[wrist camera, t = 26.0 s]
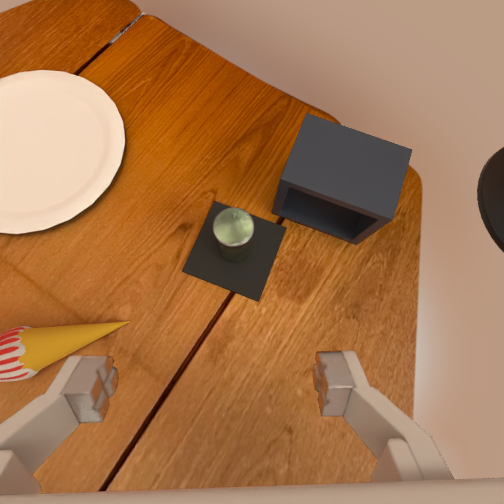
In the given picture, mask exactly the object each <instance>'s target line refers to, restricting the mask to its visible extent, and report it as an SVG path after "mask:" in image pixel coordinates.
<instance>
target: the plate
mask: <svg viewBox="0 0 504 504" xmlns="http://www.w3.org/2000/svg"><path fill="white" fill-rule="evenodd" d="M124 148H125V132H124V123H123V121H122V118H121V116H120V114H119V111H118V109H117V107H116V104H115V103H114V102H113V101H112V100H111V99H110V98H109V96H108V95H107V94H106V93H105V92H104V91H103V90H102V89H101V88H99V87H98V86H96V85H95V84H93V83H91V82H90V81H88V80H87V79H85V78H82V77H79V76H76V75H73V74H70V73H67V72H61V71H49V70H37V71H29V72H21V73H16V74H13V75H10V76H7V77H4V78H1V79H0V233H8V234H23V233H29V232H36V231H42V230H46V229H49V228H51V227H54V226H56V225H59V224H61V223H64V222H66V221H69V220H71V219H72V218H74V217H75V216H77V215H78V214H80V213H81V212H83V211H84V210H85V209H87V208H88V207H90V206H91V205H93V204H94V203H95V201H96V200H97V199H98V198H99V197H100V196H101V195H102V194H103V193H104V192H105V190H106V189H107V188H108V187H109V186H110V184H111V183H112V181H113V179H114V177H115V175H116V173H117V171H118V169H119V167H120V165H121V162H122V158H123V153H124Z"/></svg>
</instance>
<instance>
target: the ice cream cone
mask: <svg viewBox="0 0 504 504" xmlns="http://www.w3.org/2000/svg"><path fill="white" fill-rule="evenodd" d="M129 322H131V321H125V322H110V323H96V324H82V325H67V326H53V327H39V328H32V327H28V326H20V327H16V328H13V329H10V330H8V331H6V332H4V333H3V334H1V335H0V381H2V382H6V381H18V380H24V379H27V378H30V377H32V376H34V375H36V374H37V373H38V372H39V371H40V370H41V369H43V368H44V367H46V366H48V365H50V364H52V363H54V362H56V361H58V360H59V359H61V358H63V357H65V356H67V355H69V354H71V353H73V352H74V351H76V350H78V349H80V348H82V347H84V346H86V345H88V344H89V343H91V342H93V341H95V340H97V339H99V338H101V337H103V336H104V335H106V334H108V333H110V332H112V331H114V330H116V329H118V328H119V327H121V326H123V325H125V324H127V323H129Z"/></svg>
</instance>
